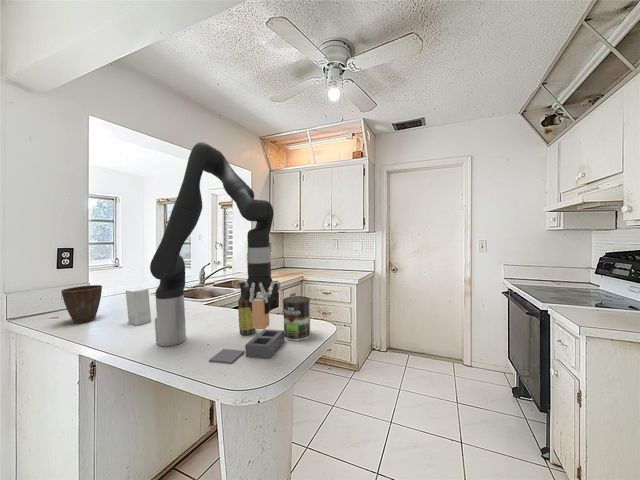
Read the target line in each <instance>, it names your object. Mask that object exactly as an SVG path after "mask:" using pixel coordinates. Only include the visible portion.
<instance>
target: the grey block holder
mask: <svg viewBox="0 0 640 480" xmlns="http://www.w3.org/2000/svg"><path fill="white" fill-rule="evenodd" d="M285 341H286V340H285V337H284V329H283V330H281V329H266V328H265V329H261V331H260V332H259V333H258V334H256V335H255V336H254V337H253V338H252V339H250V340H249V341H248V342H247V343H246V344H245V345H244V351H245V358H251V359H253V358H254V359H255V358H256V359H265V360H269V359H271V357H273V355H274V354H275V353H276V352H277V350H279V348H280V347H281V346H282V345H283V344H284V343H285Z"/></svg>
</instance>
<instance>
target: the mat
mask: <svg viewBox="0 0 640 480" xmlns="http://www.w3.org/2000/svg"><path fill="white" fill-rule="evenodd" d="M244 354H246V350H240V349H226V348H223V349H222V350H220V351H219V352H217V353H216V354H215V355H214V356H212V357H211V358H209V359H208V363H219V364H230V365H232V364H233V363H235V362H236V361H237V360H238V359H239V358H241V357H242V356H243V355H244Z"/></svg>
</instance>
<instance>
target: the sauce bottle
mask: <svg viewBox="0 0 640 480" xmlns="http://www.w3.org/2000/svg"><path fill="white" fill-rule="evenodd" d="M239 288H240V296H239V299H238V300H237V305H238V307H237V308H238V327H239V334H240V335H243V336H248V335H251V334H254V333H255V332H256V329H253V321H252V311H251V310H250V301H248V300H245V299H244V296H243V293H242V290H241V287H240V286H239ZM248 289H249V292H250V291H251V287H250V286H249V285H248Z"/></svg>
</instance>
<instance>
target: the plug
mask: <svg viewBox="0 0 640 480" xmlns="http://www.w3.org/2000/svg"><path fill="white" fill-rule="evenodd" d="M252 321H253V329H255V330H264V329H266V328H268V327H269V326H270V312H269V313H268V314H265V301H264V297H263V296H256V298H255V299H254V300H253V301H252Z"/></svg>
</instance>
